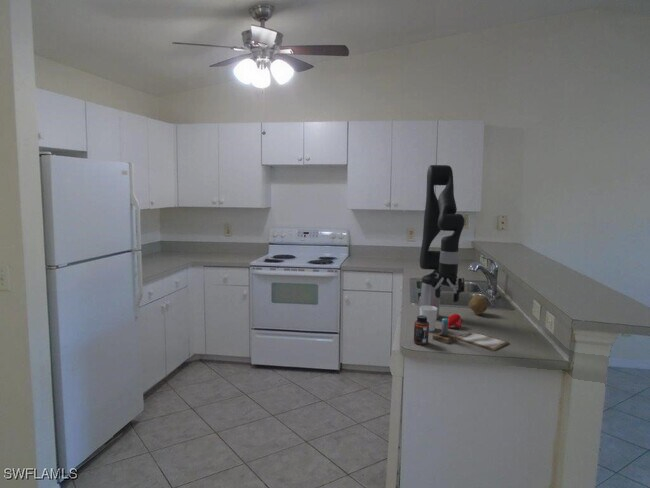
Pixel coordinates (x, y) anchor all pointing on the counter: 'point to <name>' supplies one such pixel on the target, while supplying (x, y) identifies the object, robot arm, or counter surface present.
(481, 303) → the natural sponge
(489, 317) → the counter surface
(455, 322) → the cap
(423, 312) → the white cup
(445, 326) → the marker
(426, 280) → the robot arm
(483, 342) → the clipboard
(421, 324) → the supplement bottle
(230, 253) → the counter surface
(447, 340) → the marker stand
